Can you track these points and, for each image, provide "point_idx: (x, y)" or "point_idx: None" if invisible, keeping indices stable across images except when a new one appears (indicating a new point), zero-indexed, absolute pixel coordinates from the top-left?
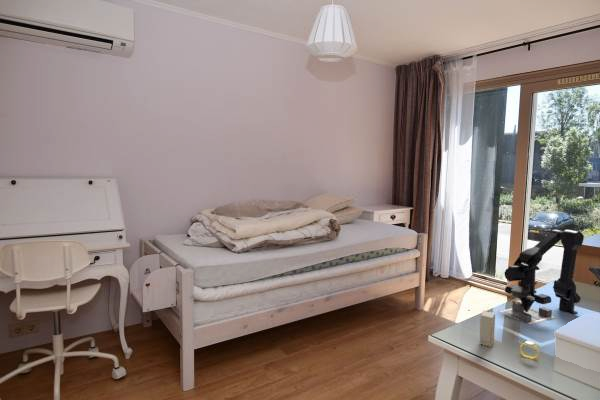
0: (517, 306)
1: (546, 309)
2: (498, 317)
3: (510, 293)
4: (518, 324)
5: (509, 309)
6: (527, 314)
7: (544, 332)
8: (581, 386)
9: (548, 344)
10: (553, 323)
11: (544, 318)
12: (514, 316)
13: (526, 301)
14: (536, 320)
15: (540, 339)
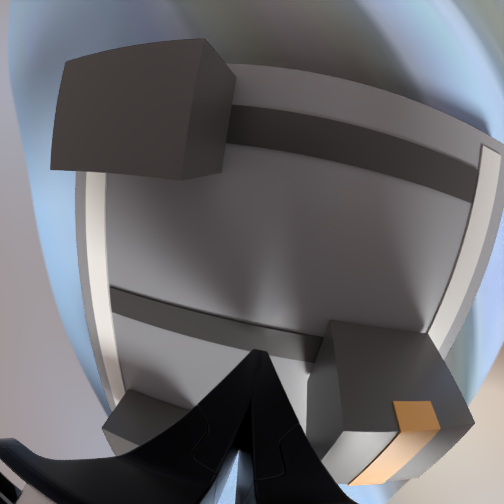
0: (384, 375)
1: (128, 449)
2: (439, 48)
3: None
4: (206, 35)
5: (449, 316)
6: (80, 124)
7: (32, 117)
8: None
9: (11, 21)
10: (87, 340)
11: (115, 352)
12: (321, 126)
13: (154, 484)
14: (109, 251)
15: (33, 15)
